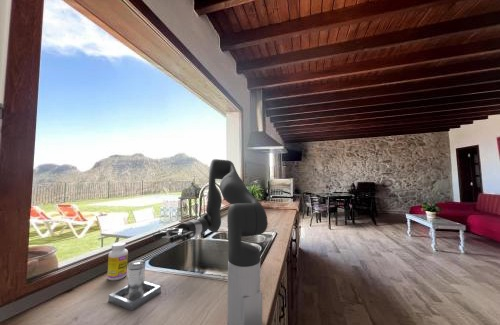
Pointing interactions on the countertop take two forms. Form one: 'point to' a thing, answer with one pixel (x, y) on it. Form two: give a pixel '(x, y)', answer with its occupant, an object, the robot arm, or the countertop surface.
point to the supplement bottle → (117, 261)
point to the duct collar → (131, 305)
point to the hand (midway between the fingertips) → (161, 238)
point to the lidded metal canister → (136, 279)
